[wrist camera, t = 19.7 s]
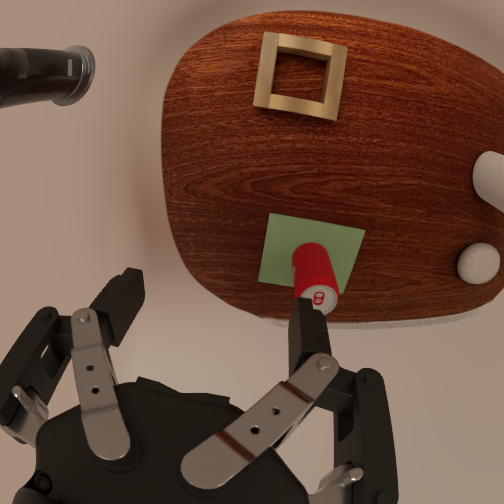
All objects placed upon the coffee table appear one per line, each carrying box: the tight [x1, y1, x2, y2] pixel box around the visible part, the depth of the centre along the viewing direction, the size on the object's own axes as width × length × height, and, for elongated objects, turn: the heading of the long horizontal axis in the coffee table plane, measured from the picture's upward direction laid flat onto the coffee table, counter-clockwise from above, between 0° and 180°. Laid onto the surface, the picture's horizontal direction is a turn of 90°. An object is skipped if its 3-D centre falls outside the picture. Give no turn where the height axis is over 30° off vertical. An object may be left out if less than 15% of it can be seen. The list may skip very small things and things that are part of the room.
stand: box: [253, 32, 348, 121], centre depth 31 cm, size 11×11×4 cm
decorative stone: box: [457, 243, 500, 284], centre depth 41 cm, size 13×9×5 cm
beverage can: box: [292, 242, 339, 315], centre depth 41 cm, size 6×6×12 cm
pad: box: [258, 213, 365, 294], centre depth 46 cm, size 16×13×1 cm
